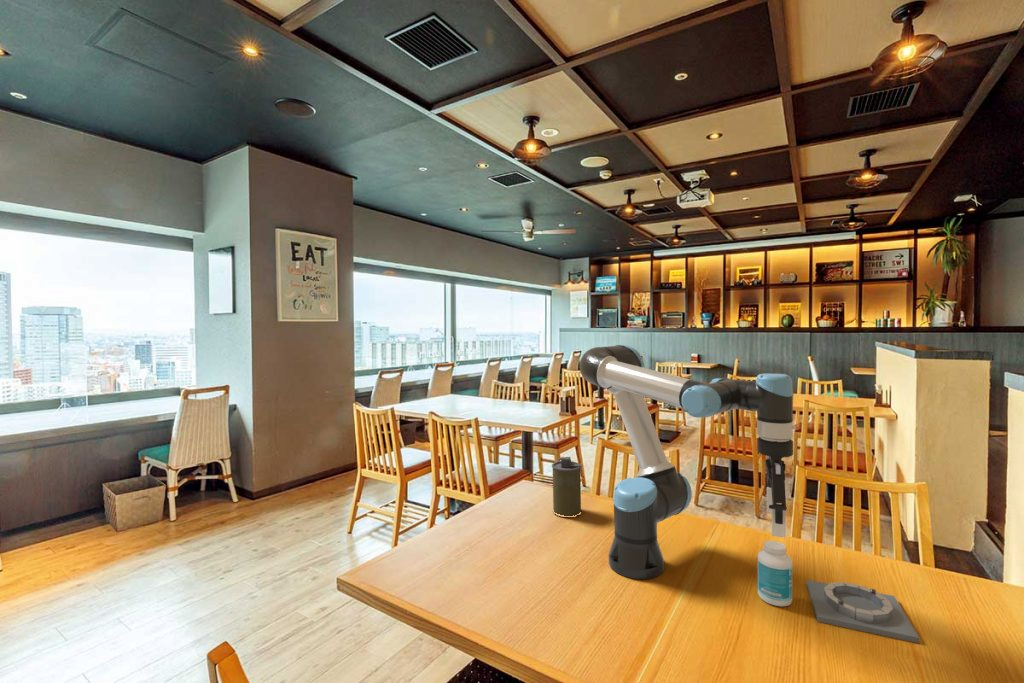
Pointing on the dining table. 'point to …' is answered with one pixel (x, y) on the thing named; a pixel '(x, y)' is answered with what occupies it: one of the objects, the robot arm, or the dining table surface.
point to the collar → (856, 613)
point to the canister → (566, 487)
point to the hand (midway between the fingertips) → (775, 524)
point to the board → (894, 628)
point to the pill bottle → (775, 574)
